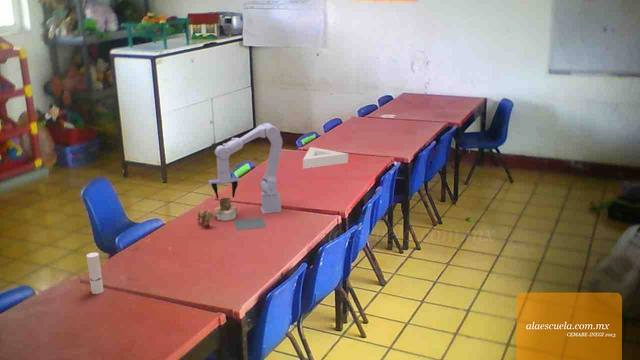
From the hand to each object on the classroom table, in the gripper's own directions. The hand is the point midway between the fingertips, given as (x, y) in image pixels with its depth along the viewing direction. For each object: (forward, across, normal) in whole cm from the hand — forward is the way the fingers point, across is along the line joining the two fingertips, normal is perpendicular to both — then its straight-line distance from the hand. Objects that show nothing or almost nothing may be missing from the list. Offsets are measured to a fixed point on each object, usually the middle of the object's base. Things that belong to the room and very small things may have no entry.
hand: (225, 197), depth 314 cm
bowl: (+10, 0, 0) cm, 10 cm away
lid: (+6, 0, 0) cm, 6 cm away
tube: (+10, +55, +64) cm, 85 cm away
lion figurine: (+11, +11, +7) cm, 17 cm away
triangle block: (+11, -71, -80) cm, 107 cm away
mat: (+10, -10, +12) cm, 19 cm away
